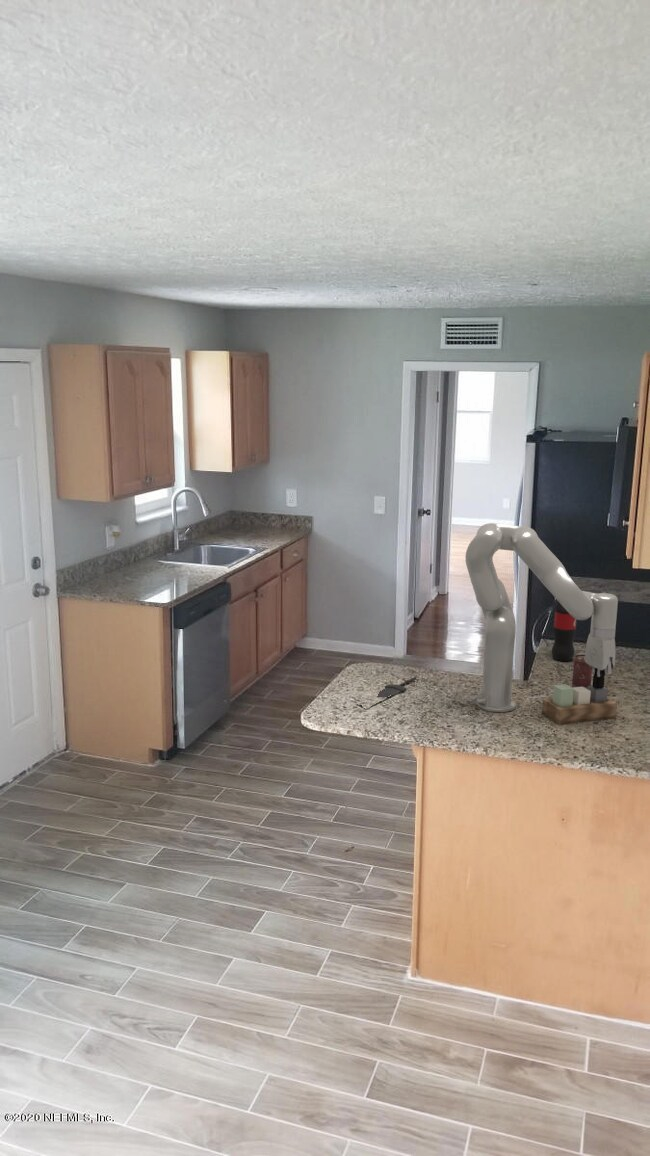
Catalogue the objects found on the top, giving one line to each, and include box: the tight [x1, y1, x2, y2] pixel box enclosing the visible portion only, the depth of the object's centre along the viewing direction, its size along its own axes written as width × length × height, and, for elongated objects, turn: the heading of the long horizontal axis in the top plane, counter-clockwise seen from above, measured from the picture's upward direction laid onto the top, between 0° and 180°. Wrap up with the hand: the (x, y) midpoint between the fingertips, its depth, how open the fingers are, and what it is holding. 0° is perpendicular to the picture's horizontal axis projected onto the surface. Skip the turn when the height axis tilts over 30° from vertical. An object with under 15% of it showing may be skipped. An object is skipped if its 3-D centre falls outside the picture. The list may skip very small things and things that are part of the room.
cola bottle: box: [551, 601, 577, 662], centre depth 339 cm, size 8×8×30 cm
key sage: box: [552, 683, 574, 707], centre depth 279 cm, size 4×4×7 cm
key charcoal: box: [588, 684, 609, 703], centre depth 284 cm, size 4×4×7 cm
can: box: [571, 654, 593, 689], centre depth 300 cm, size 6×6×14 cm
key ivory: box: [573, 687, 591, 705], centre depth 282 cm, size 4×4×7 cm
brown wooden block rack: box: [541, 697, 618, 726], centre depth 282 cm, size 21×10×5 cm, turn 109°
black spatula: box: [377, 676, 418, 697], centre depth 301 cm, size 7×35×2 cm, turn 142°
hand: (598, 687), depth 283 cm, fingers closed
